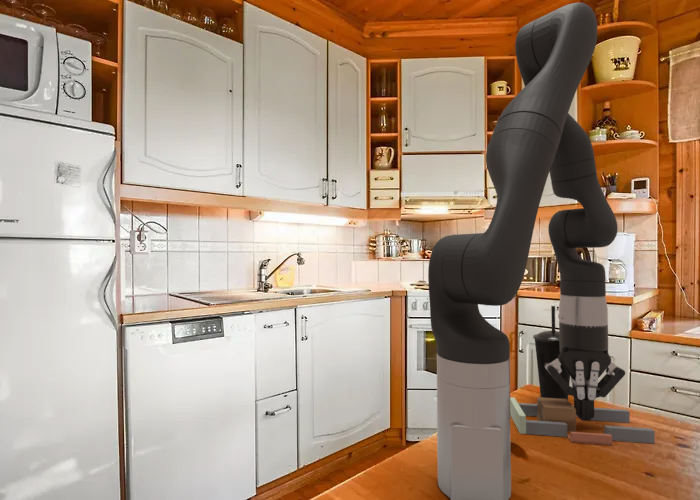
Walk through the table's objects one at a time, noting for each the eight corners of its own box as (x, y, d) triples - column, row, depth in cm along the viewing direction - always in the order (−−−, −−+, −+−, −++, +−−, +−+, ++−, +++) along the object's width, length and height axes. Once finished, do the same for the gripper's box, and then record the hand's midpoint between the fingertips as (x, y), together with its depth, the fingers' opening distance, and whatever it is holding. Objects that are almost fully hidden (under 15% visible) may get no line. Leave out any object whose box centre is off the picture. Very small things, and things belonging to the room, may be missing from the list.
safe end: (526, 433, 70) (525, 416, 70) (519, 433, 70) (519, 415, 70) (514, 413, 79) (514, 397, 79) (509, 412, 79) (509, 397, 79)
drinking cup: (575, 413, 78) (573, 309, 79) (531, 406, 82) (530, 306, 83) (576, 401, 85) (574, 305, 85) (536, 395, 89) (534, 303, 89)
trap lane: (661, 449, 64) (661, 436, 64) (528, 439, 68) (528, 426, 68) (621, 416, 77) (621, 405, 77) (512, 409, 81) (512, 399, 81)
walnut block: (576, 432, 70) (575, 409, 70) (544, 430, 71) (544, 407, 71) (566, 420, 75) (566, 399, 75) (537, 418, 76) (537, 397, 76)
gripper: (548, 323, 70) (549, 425, 70) (634, 325, 67) (636, 431, 67) (537, 316, 77) (538, 408, 77) (614, 318, 75) (616, 413, 74)
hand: (584, 419), depth 72 cm, fingers closed
